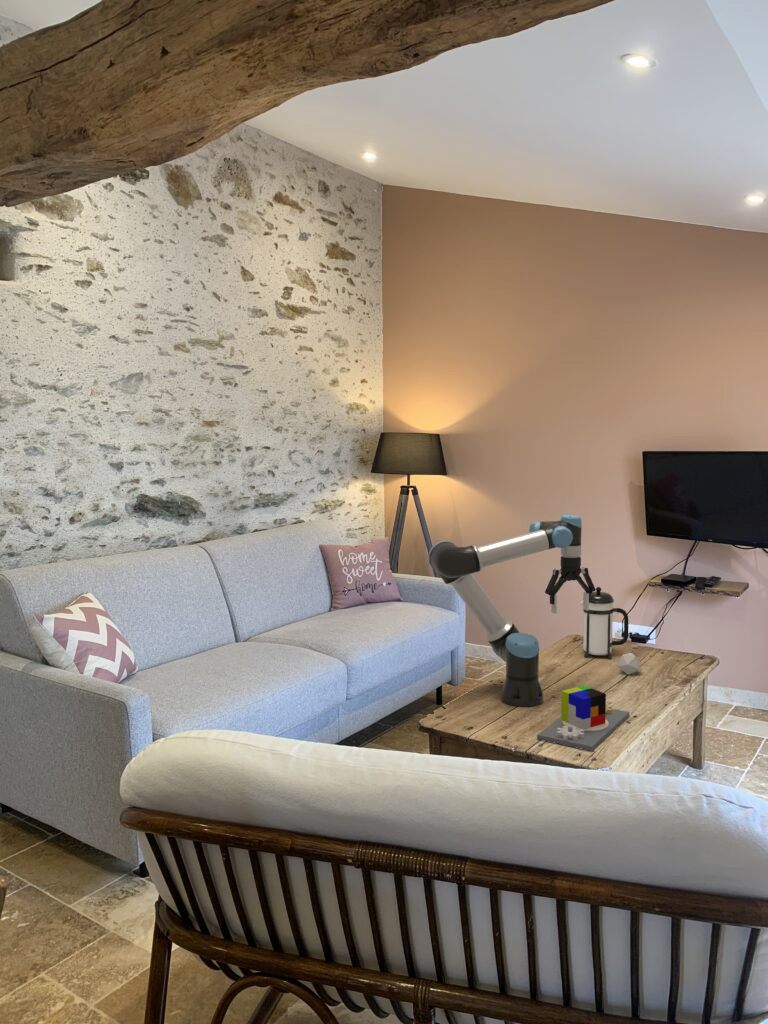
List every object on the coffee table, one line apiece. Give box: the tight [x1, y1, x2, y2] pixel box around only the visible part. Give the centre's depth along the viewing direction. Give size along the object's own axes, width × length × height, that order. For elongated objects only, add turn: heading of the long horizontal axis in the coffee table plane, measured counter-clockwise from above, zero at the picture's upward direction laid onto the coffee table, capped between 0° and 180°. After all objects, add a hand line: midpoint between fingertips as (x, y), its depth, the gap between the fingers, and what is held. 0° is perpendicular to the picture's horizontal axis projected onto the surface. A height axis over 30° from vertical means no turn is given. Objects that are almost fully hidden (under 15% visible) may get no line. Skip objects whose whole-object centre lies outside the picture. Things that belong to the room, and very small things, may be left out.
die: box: [617, 652, 642, 676], centre depth 327 cm, size 8×9×10 cm
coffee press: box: [579, 586, 629, 660], centre depth 352 cm, size 17×16×30 cm
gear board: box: [536, 705, 630, 752], centre depth 270 cm, size 36×18×4 cm, turn 146°
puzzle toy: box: [560, 685, 607, 729], centre depth 269 cm, size 10×10×10 cm
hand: (570, 611), depth 311 cm, fingers open, 13 cm apart
